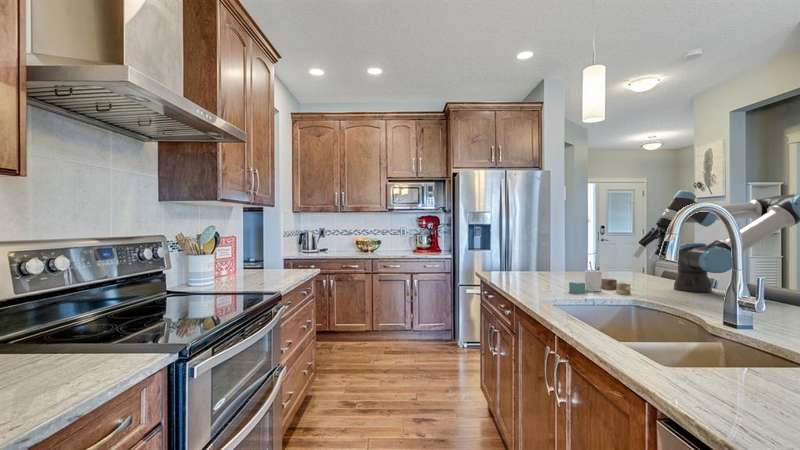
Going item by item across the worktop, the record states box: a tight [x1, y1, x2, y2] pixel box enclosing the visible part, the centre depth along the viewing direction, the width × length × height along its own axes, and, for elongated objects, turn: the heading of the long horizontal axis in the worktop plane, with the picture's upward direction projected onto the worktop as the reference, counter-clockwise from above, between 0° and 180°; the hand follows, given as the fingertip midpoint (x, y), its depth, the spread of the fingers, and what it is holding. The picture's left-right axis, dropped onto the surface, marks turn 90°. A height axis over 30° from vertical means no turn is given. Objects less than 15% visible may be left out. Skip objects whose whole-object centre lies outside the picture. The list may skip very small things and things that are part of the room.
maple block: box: [616, 281, 631, 295], centre depth 182 cm, size 5×5×5 cm
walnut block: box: [601, 278, 618, 291], centre depth 195 cm, size 5×5×5 cm
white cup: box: [584, 269, 603, 292], centre depth 190 cm, size 8×8×10 cm
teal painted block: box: [568, 281, 586, 294], centre depth 185 cm, size 5×5×5 cm
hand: (643, 258), depth 180 cm, fingers open, 13 cm apart
